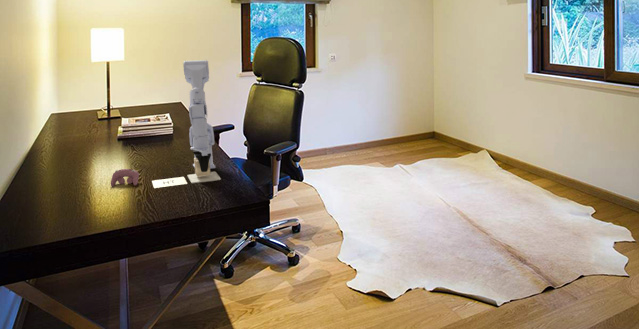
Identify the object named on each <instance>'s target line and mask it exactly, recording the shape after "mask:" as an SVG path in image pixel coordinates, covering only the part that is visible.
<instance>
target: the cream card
mask: <svg viewBox="0 0 639 329" xmlns="http://www.w3.org/2000/svg"><path fill="white" fill-rule="evenodd" d="M151 183H152V186H153V188H154V189H159V188H165V187H173V186H179V185H180V186H181V185H187V184H188V182H187V180H186V178H185V177H184V176H180V177H172V178H171V177H169V178H165V179H164V178H163V179H155V180H151Z"/></svg>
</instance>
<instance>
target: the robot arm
mask: <svg viewBox="0 0 639 329" xmlns="http://www.w3.org/2000/svg"><path fill="white" fill-rule="evenodd" d="M182 64H183V67H182V68H183V73H184V79H185V82H186V83H187V84H190V85H191V87H192V89H191V90H190V91H189V105H188V112H189V113H188V115H189V120H190V125H191V126H190V127H189V129H188V130H189V136H188V137H189V145H190V146H191V147H190V150H191V151H192V153H193V154H194V158H197V159H198V161H199V164H200V168H201V171H202V172H207V170H208V163H210V170H211V169H216V165H215V164H214V162H213V161H214V160H213V149H212V148H213V146H214V145H215V133H214V127H213V125H211V124H209V123H208V120H207V119H208V106H207V102H206V92H205V90H204V88H205V84H206V83H208V82H209V81H210V66H209V61H208V60H207V59H205V60H184V61H183V63H182ZM192 166H193V168H195V165H194V163H192Z"/></svg>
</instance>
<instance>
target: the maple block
mask: <svg viewBox="0 0 639 329" xmlns="http://www.w3.org/2000/svg"><path fill="white" fill-rule="evenodd" d="M193 162H194V163H193V164H194V165H195V167H194V174H196V175H197V177H198V176H206V175H211V174H210V172H211V169H210V163H208V170H207V172H202V171H201V168H200V164H199V161H198V159H197V158H195V157H194V158H193Z"/></svg>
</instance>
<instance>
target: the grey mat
mask: <svg viewBox="0 0 639 329" xmlns="http://www.w3.org/2000/svg"><path fill="white" fill-rule="evenodd" d="M210 174H211V175H206V176H198V177H197V175H196V174H195V173H192V174H187V176H186V177H187V178H188V180H189V181H190V183H191V184H200V183H206V182H214V181H220V180H222V178H221V177H220V175H219V174H218V173H217V172H216V171H210Z"/></svg>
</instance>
